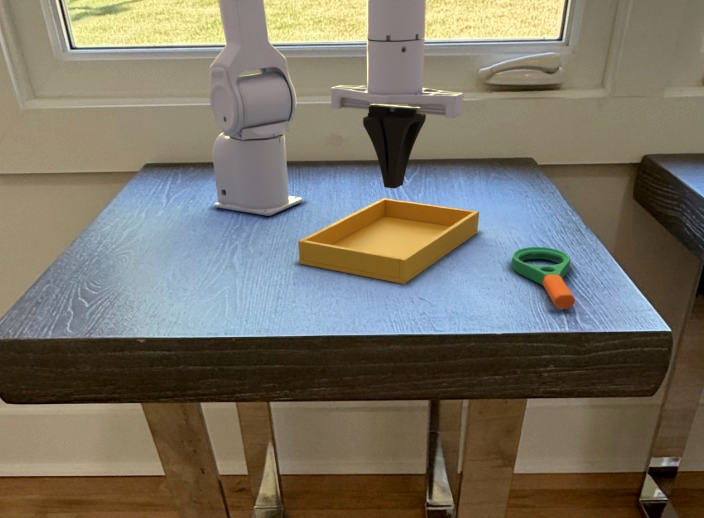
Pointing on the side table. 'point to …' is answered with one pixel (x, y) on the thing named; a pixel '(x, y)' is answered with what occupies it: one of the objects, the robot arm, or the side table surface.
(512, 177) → the side table surface
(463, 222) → the tray
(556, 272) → the magnifying glass
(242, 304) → the side table surface
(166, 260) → the side table surface
